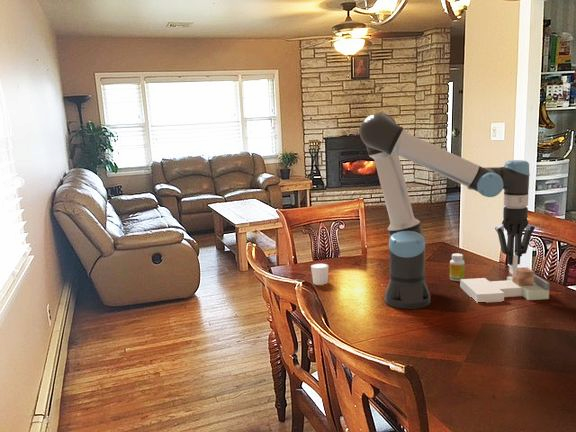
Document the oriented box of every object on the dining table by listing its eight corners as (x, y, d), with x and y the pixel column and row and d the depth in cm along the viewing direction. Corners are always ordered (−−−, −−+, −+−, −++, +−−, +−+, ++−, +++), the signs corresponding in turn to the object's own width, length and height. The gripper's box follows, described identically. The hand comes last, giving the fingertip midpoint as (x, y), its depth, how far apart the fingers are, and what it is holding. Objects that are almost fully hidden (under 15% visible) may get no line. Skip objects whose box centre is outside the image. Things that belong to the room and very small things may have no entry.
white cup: (329, 279, 199) (328, 262, 197) (329, 285, 192) (328, 267, 191) (312, 280, 199) (311, 263, 198) (311, 285, 193) (310, 268, 191)
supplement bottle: (461, 282, 187) (462, 257, 185) (447, 280, 190) (447, 255, 189) (466, 278, 191) (466, 253, 190) (452, 276, 195) (452, 252, 193)
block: (518, 286, 171) (519, 272, 170) (512, 281, 176) (512, 267, 175) (533, 285, 171) (534, 271, 170) (526, 280, 176) (527, 267, 175)
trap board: (477, 303, 166) (477, 287, 165) (460, 287, 182) (460, 272, 181) (548, 298, 166) (549, 283, 165) (525, 283, 182) (526, 268, 181)
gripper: (501, 209, 165) (499, 277, 169) (540, 207, 165) (537, 275, 169) (491, 205, 172) (490, 271, 177) (529, 203, 172) (526, 269, 177)
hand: (513, 273), depth 173 cm, fingers closed
